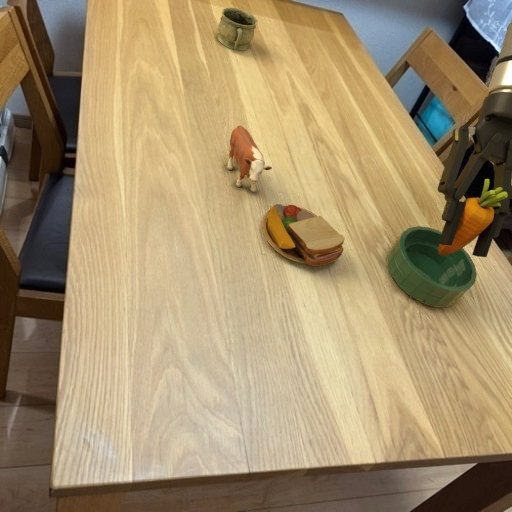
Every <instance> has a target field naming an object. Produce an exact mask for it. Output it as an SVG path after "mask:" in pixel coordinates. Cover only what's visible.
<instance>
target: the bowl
mask: <svg viewBox="0 0 512 512" xmlns="http://www.w3.org/2000/svg"><path fill="white" fill-rule="evenodd" d="M441 234H442V231H440V230H438V229H436V228H432V227H429V226H421V225H417V226H411V227H408V228H406V229H405V230H404V231H402V232H401V234H400V235H399V236H398V238H397V239H396V241H395V242H394V244H392V246H391V248H390V249H389V251H388V254H387V256H386V266H387V268H388V271H389V273H390V276H391V277H392V279H393V280H394V282H395V283H396V284H397V285H398V287H399V288H400V289H401V290H402V291H404V292H405V293H406V294H407V295H408V296H410V297H411V298H412V299H414V300H416V301H418V302H420V303H421V304H423V305H428V306H430V307H434V308H447V307H450V306H453V305H455V304H456V303H458V301H459V300H460V299H461V298H462V297H463V296H464V295H465V294H466V293H467V292H468V291H469V290H470V289H471V288H472V287H473V286H474V285H475V284H476V280H477V276H478V274H477V268H476V264H475V262H474V261H473V259H472V257H471V255H470V254H469V253H468V252H467V250H465V248H464V247H463V248H462V249H460V250H458V251H456V252H454V253H451V254H448V255H445V256H440V255H439V253H438V250H439V240H440V237H441Z"/></svg>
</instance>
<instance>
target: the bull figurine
mask: <svg viewBox="0 0 512 512" xmlns="http://www.w3.org/2000/svg"><path fill="white" fill-rule="evenodd" d="M227 154H228V157H229V160H228V162H227V167H226V169H227V170H229V171H233V169H234V166H233V159H234V160H235V162H236V164H238V166H239V167H240V171H239V172H240V173H239V178H238V179H236V184H235V187H237V188H241V187H242V184H243V180H244V179H245V177H247V179H248V181H250V182H251V184H250V190H249V191H250V192H251V193H256V191H257V189H256V183H257V182H258V180H259V177H260V176H261V174H262V173H263V171H270V170H272V169H273V167H272V166H270V165H265V164H266V161H265V159H264V155H263V153H262V152H261V151H260V148H259V147H258V145H257V143H256V142H255V140H254V138H253V137H252V135H251V133H250V132H249V130H248V129H246V128H245V127H244V126H243V125H241V124H240V125H238V126H237V127H235V128H233V130H232V132H231V134H230V138H229V144H228V147H227Z"/></svg>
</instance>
